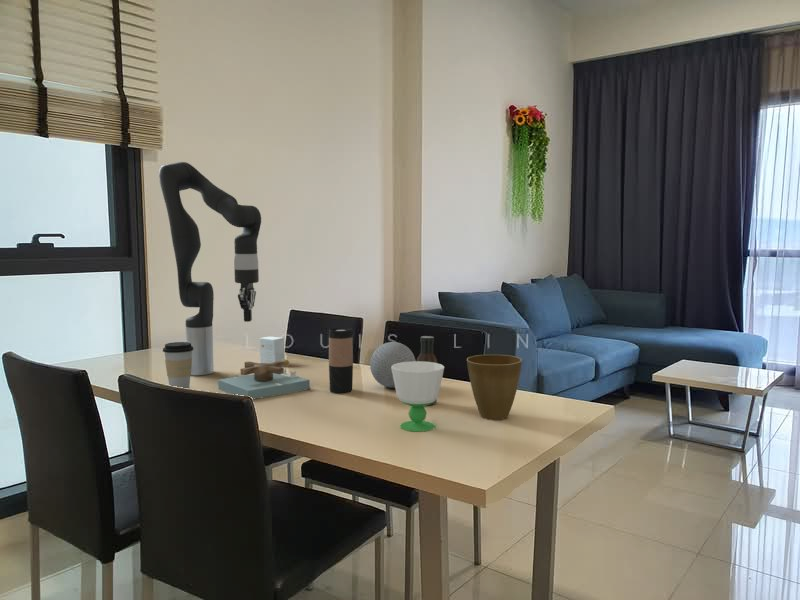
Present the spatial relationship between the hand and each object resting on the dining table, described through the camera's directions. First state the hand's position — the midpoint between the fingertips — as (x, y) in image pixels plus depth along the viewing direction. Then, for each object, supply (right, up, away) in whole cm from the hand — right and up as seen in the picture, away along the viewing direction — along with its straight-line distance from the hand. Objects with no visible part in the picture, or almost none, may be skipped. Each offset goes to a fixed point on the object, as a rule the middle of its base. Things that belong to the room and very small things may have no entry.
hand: (247, 321), depth 200 cm
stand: (+5, -22, 0) cm, 23 cm away
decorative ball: (+47, -22, +3) cm, 52 cm away
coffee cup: (-22, -22, -1) cm, 31 cm away
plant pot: (+75, -25, -31) cm, 85 cm away
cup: (+54, -26, -41) cm, 72 cm away
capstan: (+6, -19, +1) cm, 20 cm away
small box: (0, -19, +41) cm, 45 cm away
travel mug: (+30, -23, -3) cm, 38 cm away
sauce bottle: (+57, -24, -17) cm, 65 cm away
